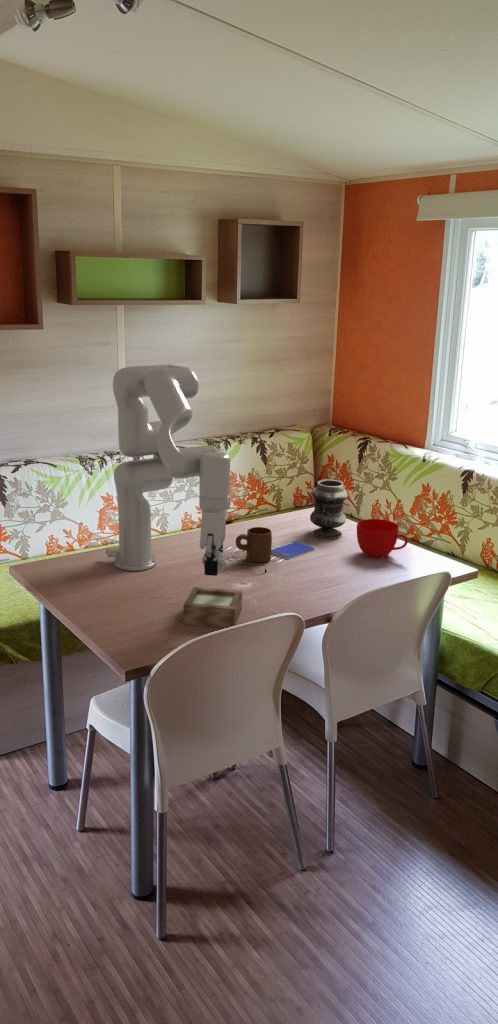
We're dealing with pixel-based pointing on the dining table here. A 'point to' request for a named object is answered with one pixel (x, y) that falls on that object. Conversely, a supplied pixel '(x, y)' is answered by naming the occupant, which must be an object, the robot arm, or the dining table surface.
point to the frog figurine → (220, 559)
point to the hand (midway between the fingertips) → (213, 569)
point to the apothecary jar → (328, 508)
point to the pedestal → (212, 607)
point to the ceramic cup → (378, 537)
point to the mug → (256, 544)
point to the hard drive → (292, 550)
